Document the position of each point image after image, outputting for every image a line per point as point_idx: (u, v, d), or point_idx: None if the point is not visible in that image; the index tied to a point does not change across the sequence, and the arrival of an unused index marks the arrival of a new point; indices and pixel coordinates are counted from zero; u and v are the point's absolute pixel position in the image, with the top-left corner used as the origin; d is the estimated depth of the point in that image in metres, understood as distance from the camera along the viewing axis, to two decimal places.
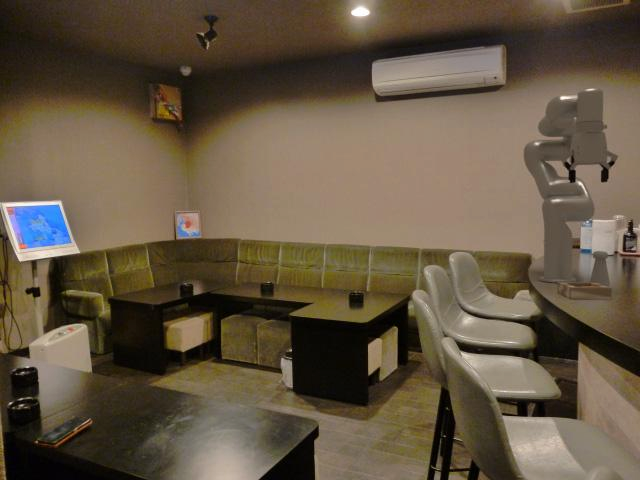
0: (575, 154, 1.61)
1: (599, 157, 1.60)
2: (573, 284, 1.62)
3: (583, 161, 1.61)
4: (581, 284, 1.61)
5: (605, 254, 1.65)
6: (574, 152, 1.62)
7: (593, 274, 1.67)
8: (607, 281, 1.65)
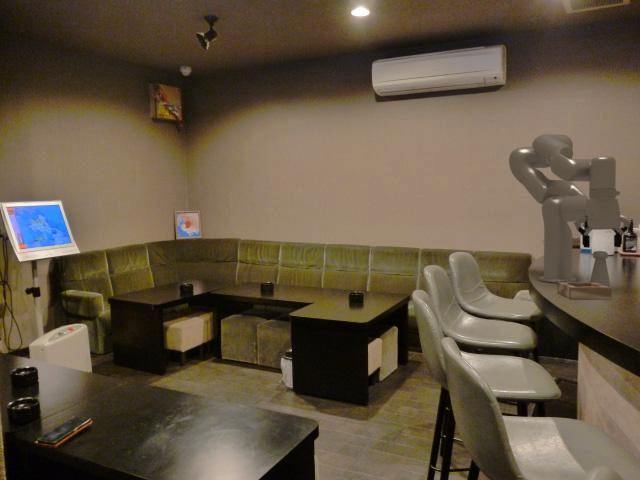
0: (589, 220, 1.65)
1: (612, 223, 1.64)
2: (573, 284, 1.62)
3: (597, 227, 1.64)
4: (581, 284, 1.61)
5: (605, 254, 1.65)
6: (588, 218, 1.65)
7: (593, 274, 1.67)
8: (607, 281, 1.65)
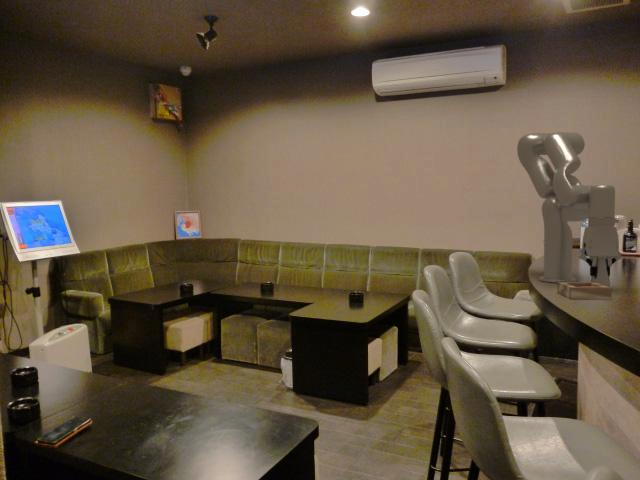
0: (587, 248, 1.66)
1: (611, 251, 1.65)
2: (573, 284, 1.62)
3: (595, 255, 1.65)
4: (581, 284, 1.61)
5: None
6: (586, 246, 1.66)
7: None
8: (607, 281, 1.65)
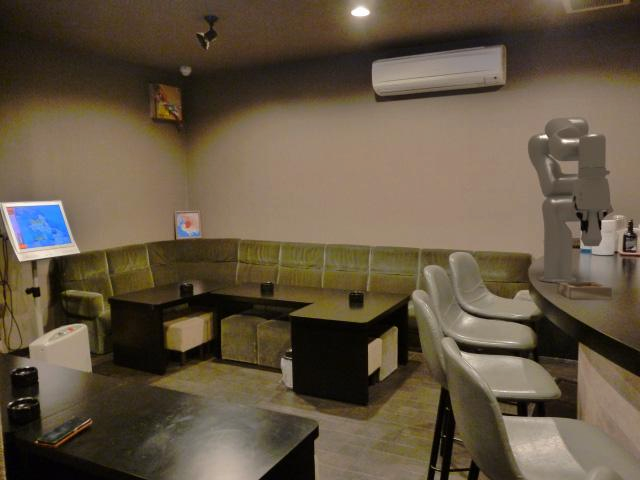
0: (578, 200, 1.57)
1: (602, 204, 1.56)
2: (573, 284, 1.62)
3: (586, 208, 1.57)
4: (581, 284, 1.61)
5: None
6: (577, 198, 1.58)
7: None
8: (599, 235, 1.57)
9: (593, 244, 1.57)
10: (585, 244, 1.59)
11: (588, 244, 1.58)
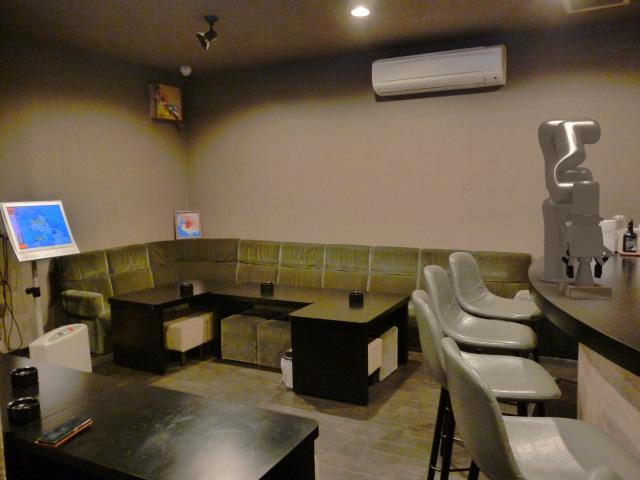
0: (570, 248, 1.56)
1: (595, 251, 1.55)
2: (573, 284, 1.62)
3: (579, 255, 1.55)
4: None
5: (589, 258, 1.55)
6: (569, 245, 1.56)
7: (577, 279, 1.57)
8: None
9: None
10: None
11: None
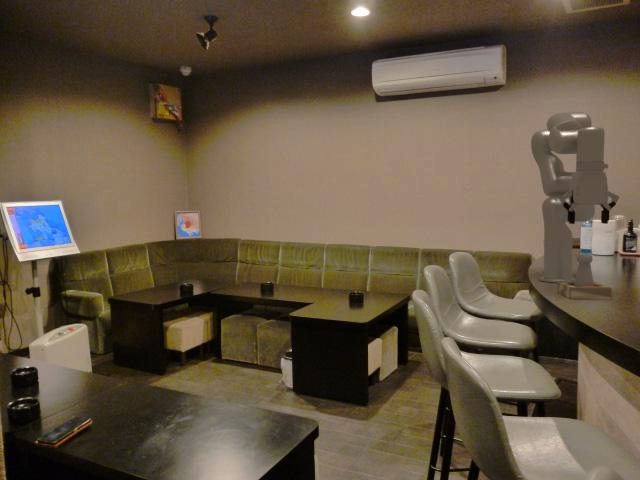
0: (574, 195, 1.56)
1: (599, 198, 1.55)
2: (573, 284, 1.62)
3: (583, 202, 1.56)
4: None
5: (589, 258, 1.55)
6: (573, 193, 1.56)
7: (577, 279, 1.57)
8: None
9: None
10: None
11: None
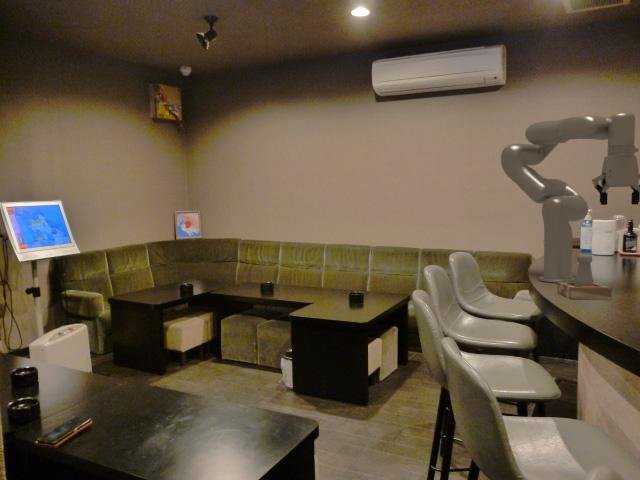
0: (607, 177, 1.65)
1: (631, 180, 1.64)
2: (573, 284, 1.62)
3: (615, 184, 1.64)
4: None
5: (589, 258, 1.55)
6: (606, 175, 1.65)
7: (577, 279, 1.57)
8: None
9: None
10: None
11: None
